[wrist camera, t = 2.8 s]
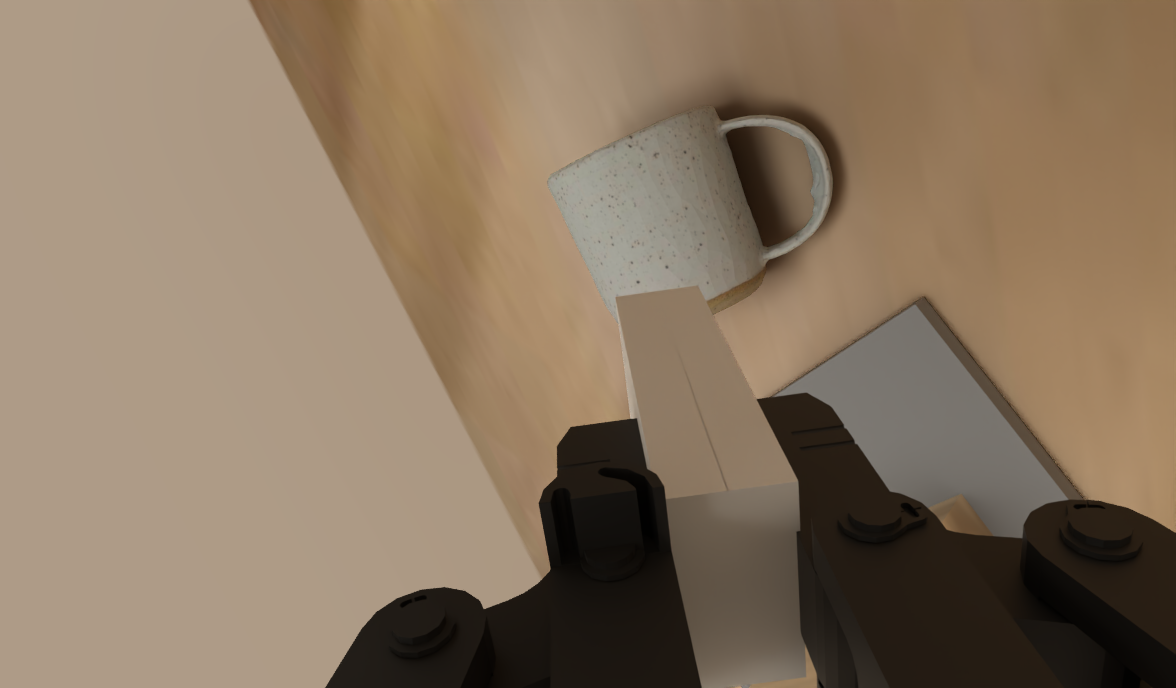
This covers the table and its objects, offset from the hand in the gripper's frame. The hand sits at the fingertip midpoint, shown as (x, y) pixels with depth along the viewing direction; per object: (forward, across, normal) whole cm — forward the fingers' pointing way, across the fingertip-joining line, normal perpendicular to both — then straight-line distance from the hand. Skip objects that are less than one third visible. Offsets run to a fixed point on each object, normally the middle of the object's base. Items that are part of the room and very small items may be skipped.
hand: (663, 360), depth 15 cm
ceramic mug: (+23, +6, -3) cm, 24 cm away
